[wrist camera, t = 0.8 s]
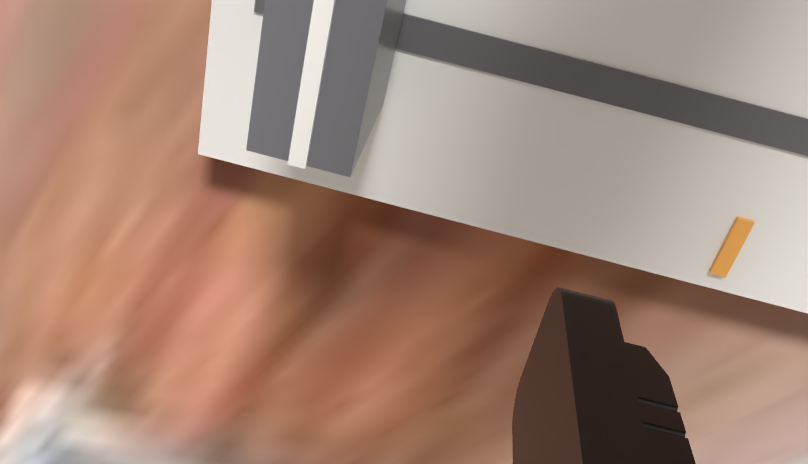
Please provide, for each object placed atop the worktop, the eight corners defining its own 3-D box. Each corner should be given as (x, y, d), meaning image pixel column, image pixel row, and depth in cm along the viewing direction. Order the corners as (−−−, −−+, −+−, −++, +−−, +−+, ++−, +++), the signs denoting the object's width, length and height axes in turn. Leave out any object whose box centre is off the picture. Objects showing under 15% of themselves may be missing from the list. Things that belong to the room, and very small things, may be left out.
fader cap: (323, -67, 24) (266, -30, 18) (415, -43, 24) (385, 1, 18) (299, 82, 26) (244, 153, 21) (383, 104, 26) (348, 180, 21)
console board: (254, -237, 24) (231, -241, 22) (1113, -14, 24) (1165, 2, 22) (215, 134, 31) (196, 155, 29) (891, 310, 30) (916, 344, 29)
